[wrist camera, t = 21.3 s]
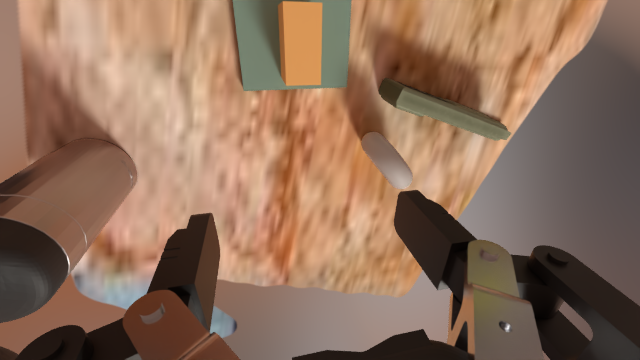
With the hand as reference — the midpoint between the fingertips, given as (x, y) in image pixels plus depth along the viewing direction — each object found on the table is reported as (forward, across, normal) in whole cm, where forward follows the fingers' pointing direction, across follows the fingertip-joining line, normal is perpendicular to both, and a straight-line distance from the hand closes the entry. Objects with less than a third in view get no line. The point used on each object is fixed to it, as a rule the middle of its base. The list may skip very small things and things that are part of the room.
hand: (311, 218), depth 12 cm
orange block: (+29, -4, -6) cm, 30 cm away
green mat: (+30, -4, -6) cm, 31 cm away
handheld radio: (+31, -28, +4) cm, 42 cm away
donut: (+30, -16, +10) cm, 36 cm away
